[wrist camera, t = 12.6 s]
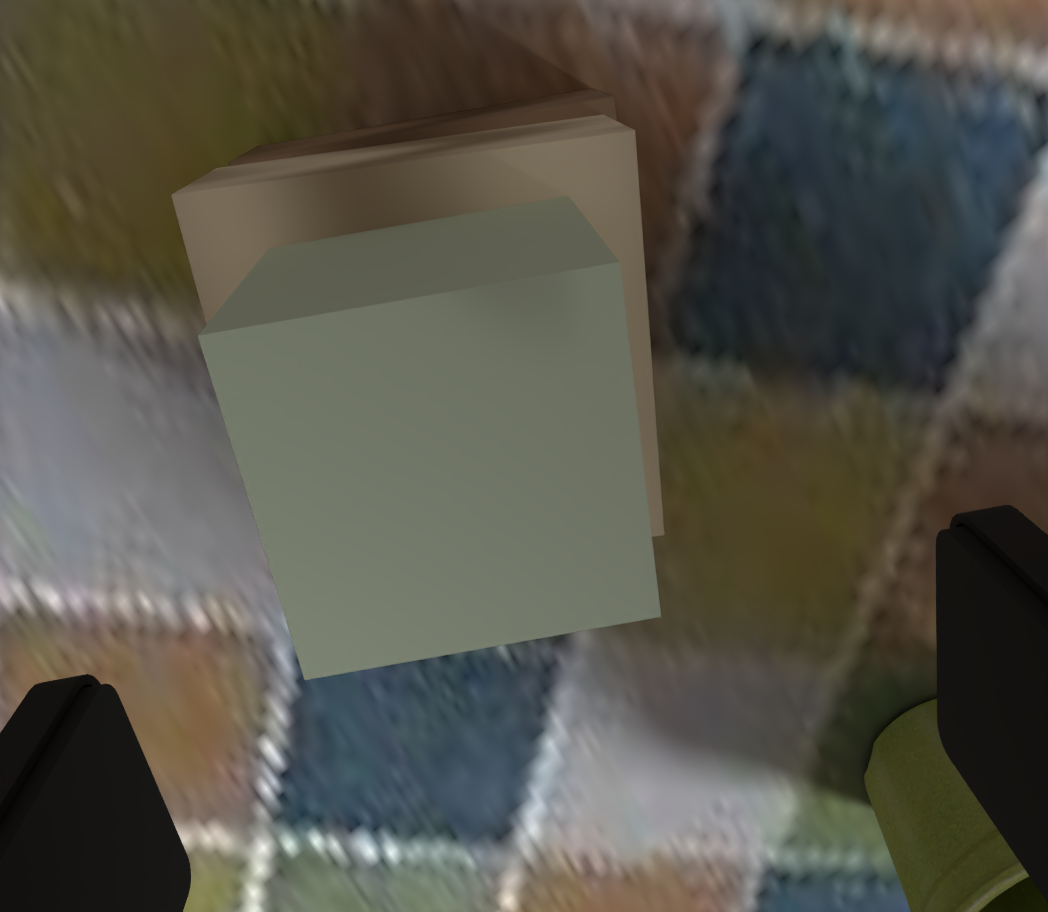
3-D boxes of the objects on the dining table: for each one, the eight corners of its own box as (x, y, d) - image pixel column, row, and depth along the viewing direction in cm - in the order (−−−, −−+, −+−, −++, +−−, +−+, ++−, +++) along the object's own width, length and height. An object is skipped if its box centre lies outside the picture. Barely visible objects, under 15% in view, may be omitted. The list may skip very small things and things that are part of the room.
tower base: (589, 87, 26) (614, 96, 22) (627, 397, 29) (653, 448, 26) (258, 144, 26) (228, 163, 22) (338, 448, 29) (323, 507, 26)
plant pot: (1108, 754, 36) (1294, 955, 28) (904, 887, 38) (1025, 1109, 30) (985, 607, 33) (1155, 786, 25) (769, 761, 35) (864, 972, 27)
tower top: (603, 114, 22) (635, 130, 18) (633, 464, 26) (664, 535, 22) (216, 167, 22) (170, 194, 18) (302, 512, 26) (278, 592, 22)
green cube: (568, 195, 19) (619, 262, 13) (605, 467, 21) (661, 616, 16) (268, 248, 19) (197, 335, 13) (340, 513, 21) (304, 679, 16)
